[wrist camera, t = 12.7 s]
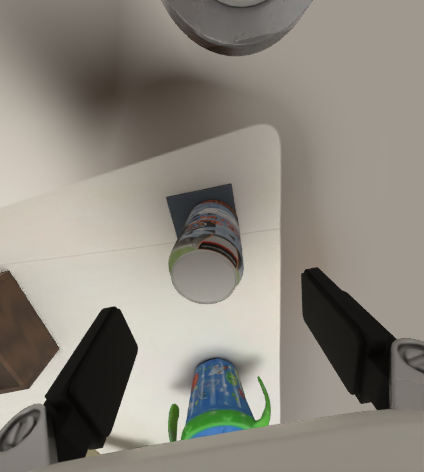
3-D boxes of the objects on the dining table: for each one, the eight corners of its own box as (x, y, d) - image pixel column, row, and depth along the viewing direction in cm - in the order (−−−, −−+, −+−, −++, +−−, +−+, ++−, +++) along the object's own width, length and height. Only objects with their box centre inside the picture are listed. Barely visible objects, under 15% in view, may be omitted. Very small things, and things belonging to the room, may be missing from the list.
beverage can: (245, 217, 25) (281, 261, 14) (210, 258, 27) (216, 327, 16) (206, 185, 24) (210, 207, 12) (171, 232, 25) (147, 288, 14)
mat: (166, 197, 24) (166, 197, 24) (230, 183, 24) (231, 183, 24) (184, 261, 27) (184, 262, 27) (241, 249, 27) (242, 251, 27)
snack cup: (252, 339, 33) (273, 411, 24) (263, 380, 37) (285, 457, 27) (163, 361, 34) (148, 439, 24) (182, 399, 37) (176, 480, 28)
